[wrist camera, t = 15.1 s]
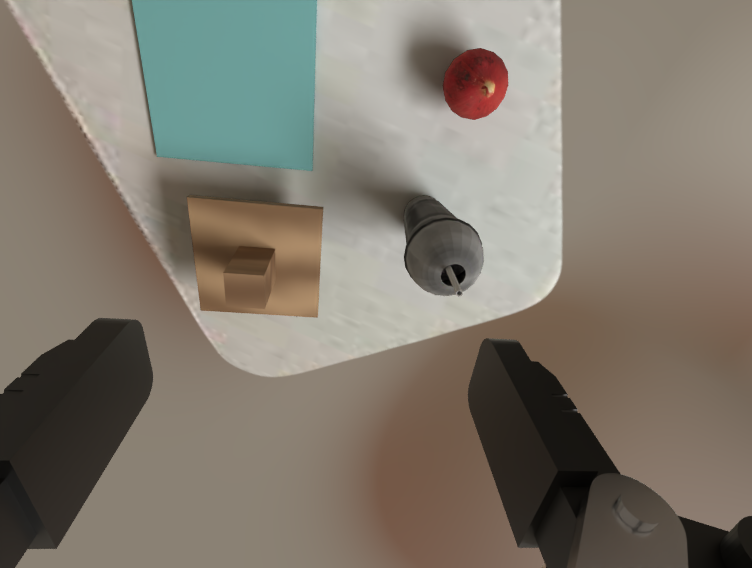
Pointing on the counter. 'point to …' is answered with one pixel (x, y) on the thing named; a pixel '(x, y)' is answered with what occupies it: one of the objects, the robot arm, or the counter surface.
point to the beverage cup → (440, 248)
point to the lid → (256, 255)
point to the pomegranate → (475, 83)
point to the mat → (230, 79)
